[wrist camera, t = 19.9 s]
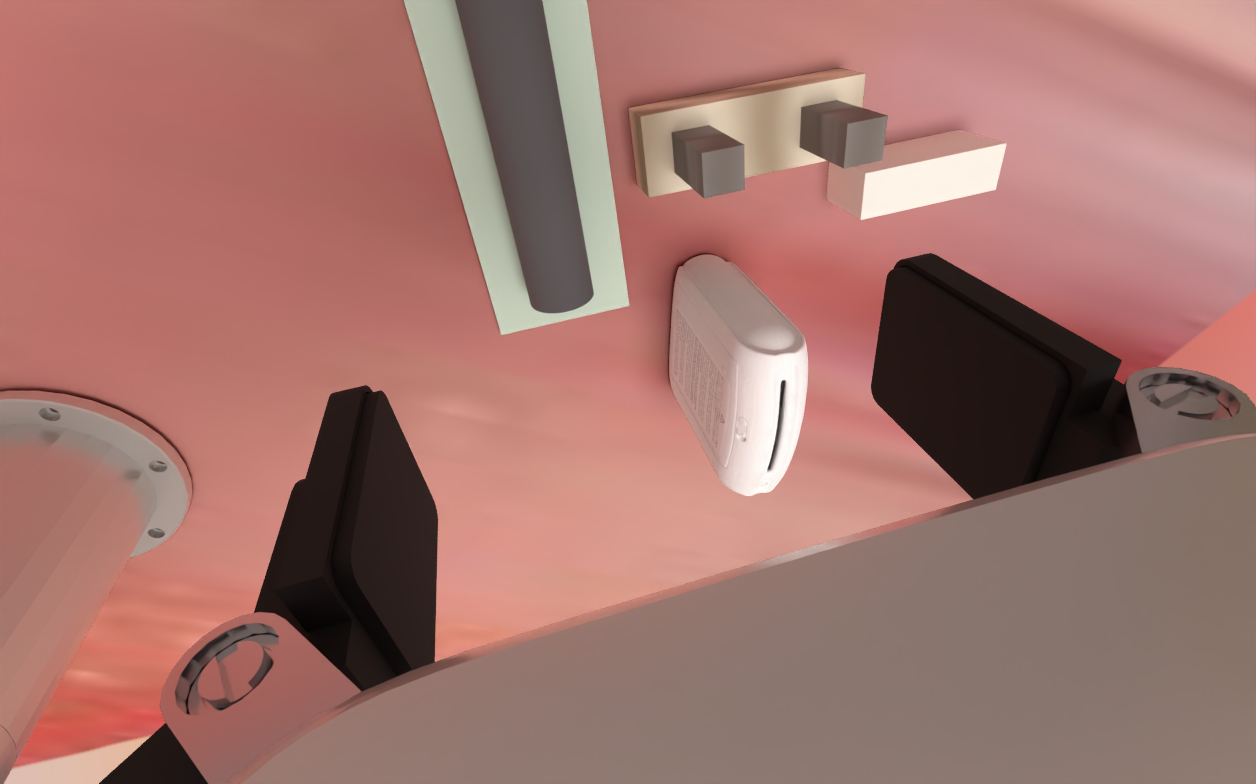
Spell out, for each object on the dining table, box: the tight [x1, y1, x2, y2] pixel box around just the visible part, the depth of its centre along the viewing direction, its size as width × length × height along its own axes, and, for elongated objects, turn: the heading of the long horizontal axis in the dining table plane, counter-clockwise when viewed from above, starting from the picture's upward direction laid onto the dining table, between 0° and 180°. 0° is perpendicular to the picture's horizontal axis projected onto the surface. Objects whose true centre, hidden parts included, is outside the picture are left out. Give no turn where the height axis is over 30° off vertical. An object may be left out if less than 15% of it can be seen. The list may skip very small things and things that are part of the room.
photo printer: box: [669, 255, 808, 496], centre depth 35 cm, size 10×4×12 cm, turn 0°
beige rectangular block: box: [826, 129, 1007, 220], centre depth 35 cm, size 9×3×4 cm, turn 98°
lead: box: [455, 0, 594, 313], centre depth 29 cm, size 17×4×4 cm, turn 7°
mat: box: [404, 0, 629, 335], centre depth 30 cm, size 8×22×1 cm, turn 7°
